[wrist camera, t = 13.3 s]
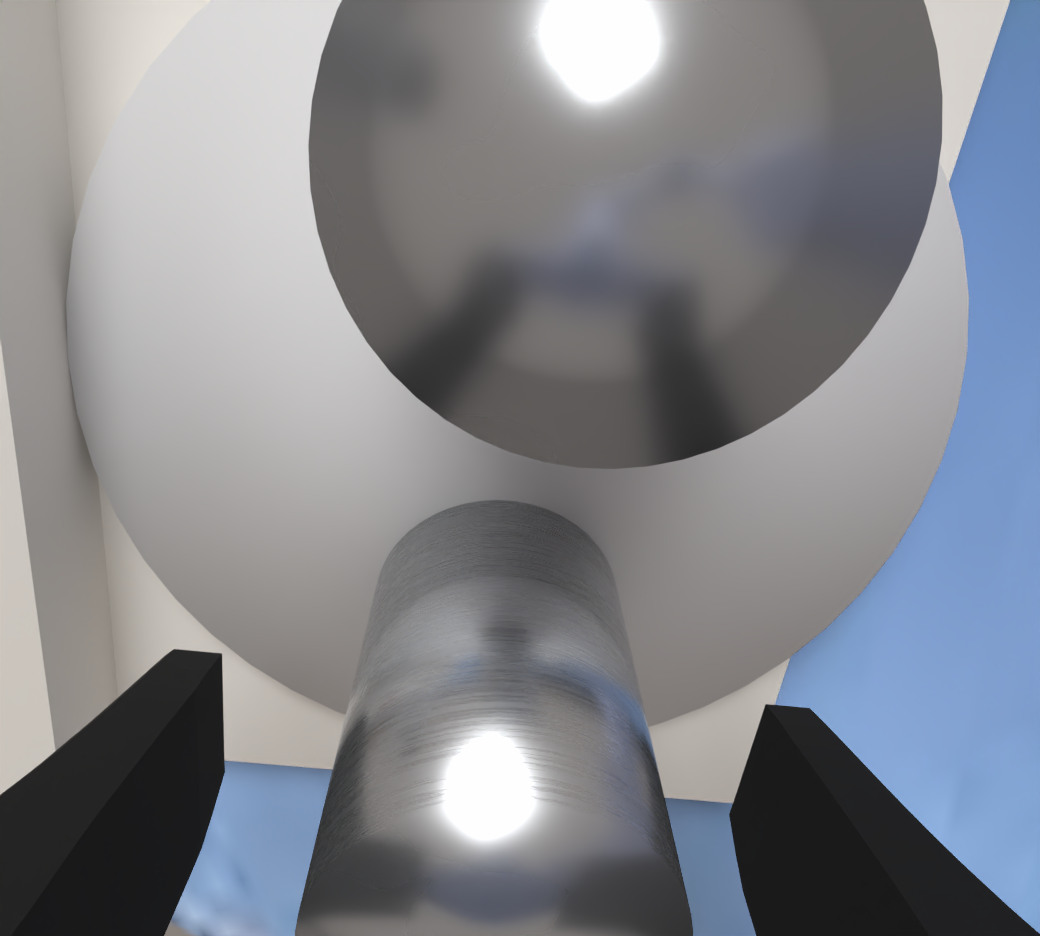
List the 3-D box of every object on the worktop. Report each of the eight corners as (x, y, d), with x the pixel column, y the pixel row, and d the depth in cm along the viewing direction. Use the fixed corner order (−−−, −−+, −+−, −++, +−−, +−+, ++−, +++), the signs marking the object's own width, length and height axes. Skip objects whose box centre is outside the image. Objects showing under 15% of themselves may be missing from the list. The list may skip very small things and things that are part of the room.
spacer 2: (652, 534, 13) (756, 850, 8) (573, 723, 15) (616, 1091, 10) (405, 472, 13) (339, 765, 7) (352, 675, 14) (264, 1037, 9)
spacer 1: (782, 59, 11) (1081, 54, 5) (610, 331, 12) (703, 551, 7) (501, -135, 10) (501, -387, 4) (353, 186, 11) (212, 305, 6)
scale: (1095, -144, 11) (1334, -228, 8) (775, 770, 18) (834, 923, 15) (-292, -387, 10) (-675, -605, 7) (-67, 697, 17) (-201, 846, 13)
